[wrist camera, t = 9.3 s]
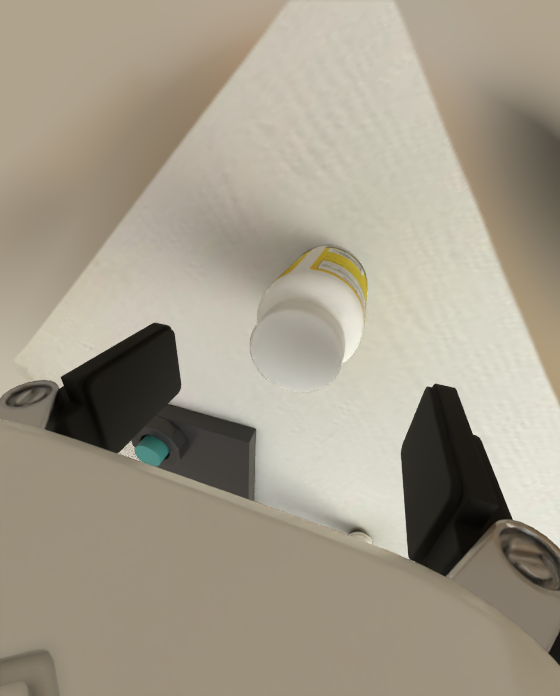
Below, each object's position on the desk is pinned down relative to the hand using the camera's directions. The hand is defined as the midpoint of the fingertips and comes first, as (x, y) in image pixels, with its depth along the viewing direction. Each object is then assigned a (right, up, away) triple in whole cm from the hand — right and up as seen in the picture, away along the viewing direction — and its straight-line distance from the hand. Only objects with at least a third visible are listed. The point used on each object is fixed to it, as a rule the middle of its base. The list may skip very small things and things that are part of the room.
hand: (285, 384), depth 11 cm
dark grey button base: (-10, -12, +24) cm, 29 cm away
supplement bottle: (+3, +6, +10) cm, 12 cm away
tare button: (-13, -9, +20) cm, 26 cm away
